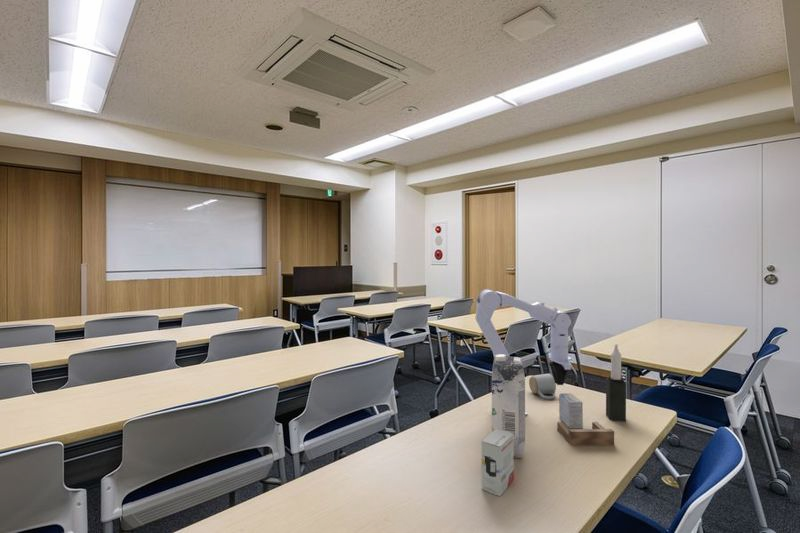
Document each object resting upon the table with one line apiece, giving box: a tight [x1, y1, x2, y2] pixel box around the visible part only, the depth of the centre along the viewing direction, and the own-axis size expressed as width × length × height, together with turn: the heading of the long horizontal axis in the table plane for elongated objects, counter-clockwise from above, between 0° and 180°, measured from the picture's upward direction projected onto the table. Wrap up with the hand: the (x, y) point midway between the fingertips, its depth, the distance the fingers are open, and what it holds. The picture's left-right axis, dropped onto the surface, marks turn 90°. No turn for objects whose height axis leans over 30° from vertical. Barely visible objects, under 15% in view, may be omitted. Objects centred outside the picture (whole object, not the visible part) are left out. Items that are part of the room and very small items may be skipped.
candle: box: [605, 343, 627, 422], centre depth 125 cm, size 5×5×25 cm
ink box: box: [481, 429, 515, 497], centre depth 90 cm, size 9×5×12 cm, turn 141°
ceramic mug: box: [528, 373, 557, 401], centre depth 147 cm, size 11×8×8 cm
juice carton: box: [491, 354, 526, 459], centre depth 106 cm, size 9×10×27 cm
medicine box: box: [558, 392, 584, 429], centre depth 122 cm, size 8×4×9 cm, turn 179°
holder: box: [556, 421, 615, 446], centre depth 113 cm, size 12×10×4 cm
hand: (559, 383), depth 131 cm, fingers closed
